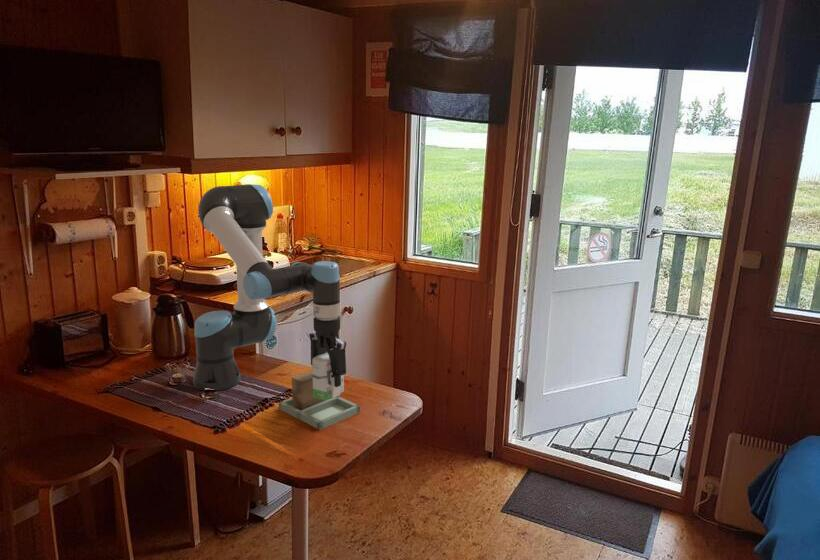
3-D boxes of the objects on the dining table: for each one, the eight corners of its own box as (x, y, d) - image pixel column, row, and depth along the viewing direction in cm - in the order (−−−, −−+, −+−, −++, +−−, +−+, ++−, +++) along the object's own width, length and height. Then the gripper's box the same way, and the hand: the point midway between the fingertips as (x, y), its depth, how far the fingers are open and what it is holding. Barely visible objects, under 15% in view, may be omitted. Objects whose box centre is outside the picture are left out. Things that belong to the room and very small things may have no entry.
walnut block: (292, 408, 181) (291, 377, 179) (316, 398, 187) (315, 368, 185) (303, 413, 178) (302, 381, 175) (326, 403, 184) (325, 373, 182)
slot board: (279, 411, 181) (278, 402, 180) (318, 395, 192) (318, 387, 191) (320, 432, 168) (319, 423, 167) (360, 414, 179) (359, 405, 178)
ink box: (325, 401, 170) (324, 362, 167) (312, 397, 173) (310, 358, 170) (344, 391, 177) (344, 353, 174) (332, 387, 180) (331, 349, 177)
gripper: (295, 312, 173) (298, 388, 178) (338, 326, 161) (340, 406, 166) (316, 307, 178) (318, 380, 184) (358, 320, 166) (360, 398, 172)
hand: (328, 392), depth 175 cm, fingers closed on ink box, 5 cm apart
